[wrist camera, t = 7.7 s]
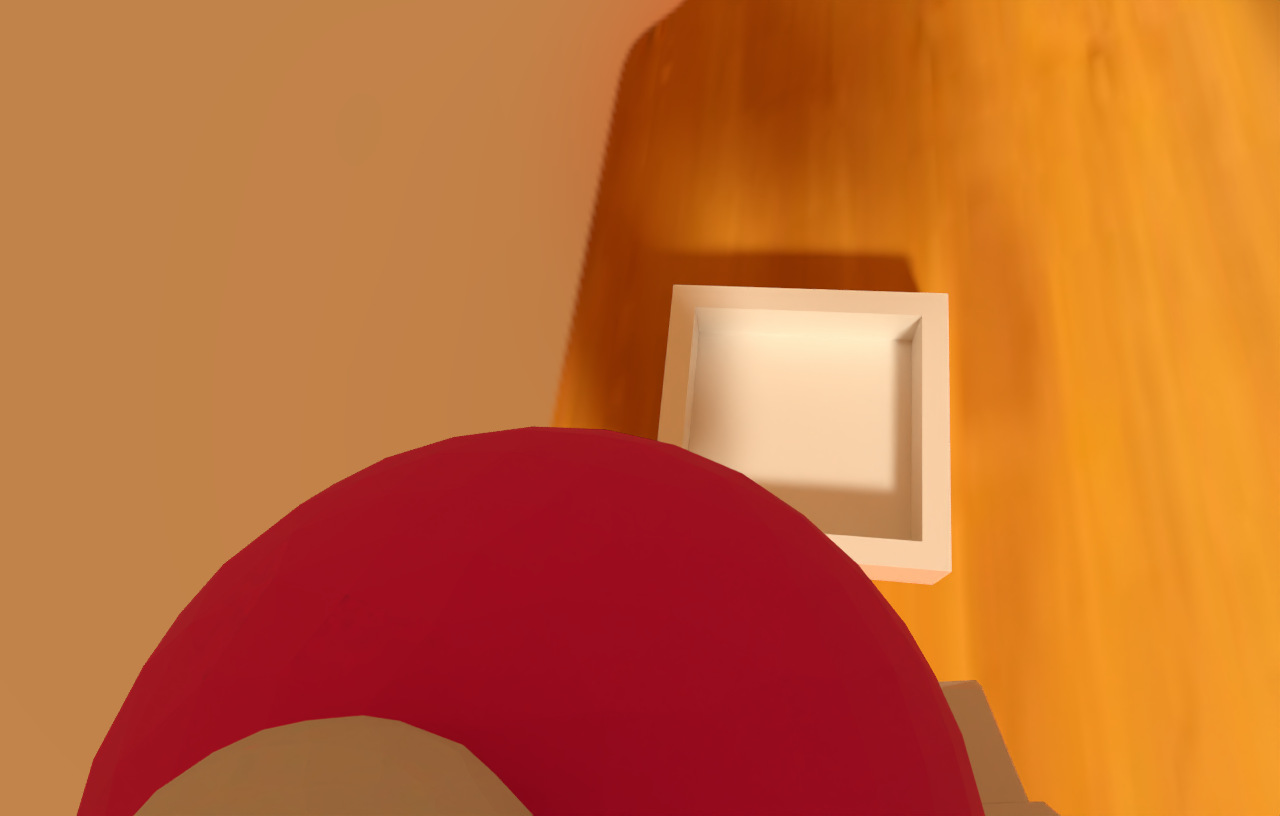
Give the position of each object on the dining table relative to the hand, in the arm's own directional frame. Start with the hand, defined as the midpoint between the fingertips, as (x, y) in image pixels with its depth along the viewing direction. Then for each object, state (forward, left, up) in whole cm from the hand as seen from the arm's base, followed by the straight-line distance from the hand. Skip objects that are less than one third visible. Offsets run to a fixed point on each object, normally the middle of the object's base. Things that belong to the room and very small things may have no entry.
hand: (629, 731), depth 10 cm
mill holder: (-8, -8, -24) cm, 27 cm away
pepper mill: (0, +1, -12) cm, 12 cm away
